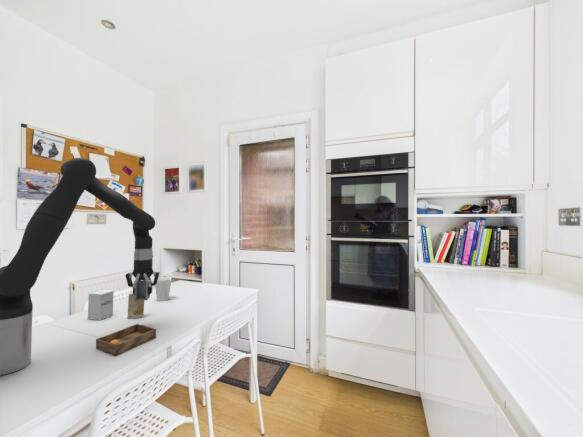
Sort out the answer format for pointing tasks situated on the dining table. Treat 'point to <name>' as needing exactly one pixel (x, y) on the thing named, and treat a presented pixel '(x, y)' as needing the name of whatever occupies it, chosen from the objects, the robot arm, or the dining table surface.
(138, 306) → the skincare box
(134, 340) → the tray
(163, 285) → the foam cup
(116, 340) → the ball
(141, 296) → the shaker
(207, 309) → the dining table surface
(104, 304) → the supplement box
